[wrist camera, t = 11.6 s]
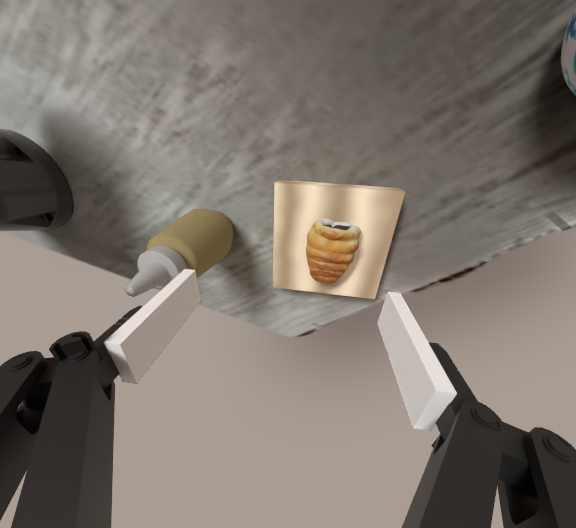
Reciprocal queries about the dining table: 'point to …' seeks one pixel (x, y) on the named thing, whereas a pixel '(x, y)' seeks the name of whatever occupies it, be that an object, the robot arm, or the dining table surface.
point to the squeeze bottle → (183, 249)
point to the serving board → (339, 208)
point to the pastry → (331, 249)
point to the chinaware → (569, 54)
